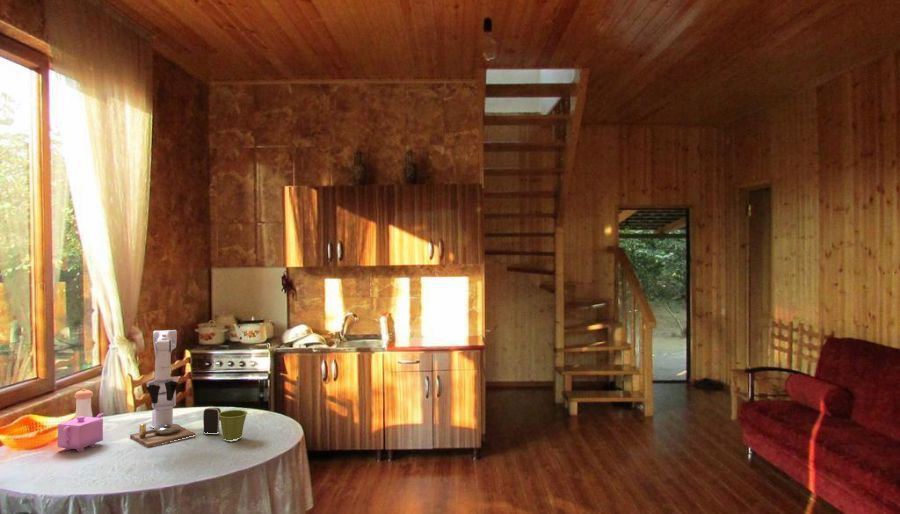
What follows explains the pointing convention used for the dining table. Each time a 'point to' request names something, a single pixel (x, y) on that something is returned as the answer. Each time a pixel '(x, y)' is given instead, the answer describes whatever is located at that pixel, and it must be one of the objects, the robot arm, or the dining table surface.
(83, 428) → the teapot
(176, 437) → the cutting board
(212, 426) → the battery charger
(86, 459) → the dining table surface
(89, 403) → the pepper shaker
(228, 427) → the plant pot
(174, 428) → the crank handle wheel
